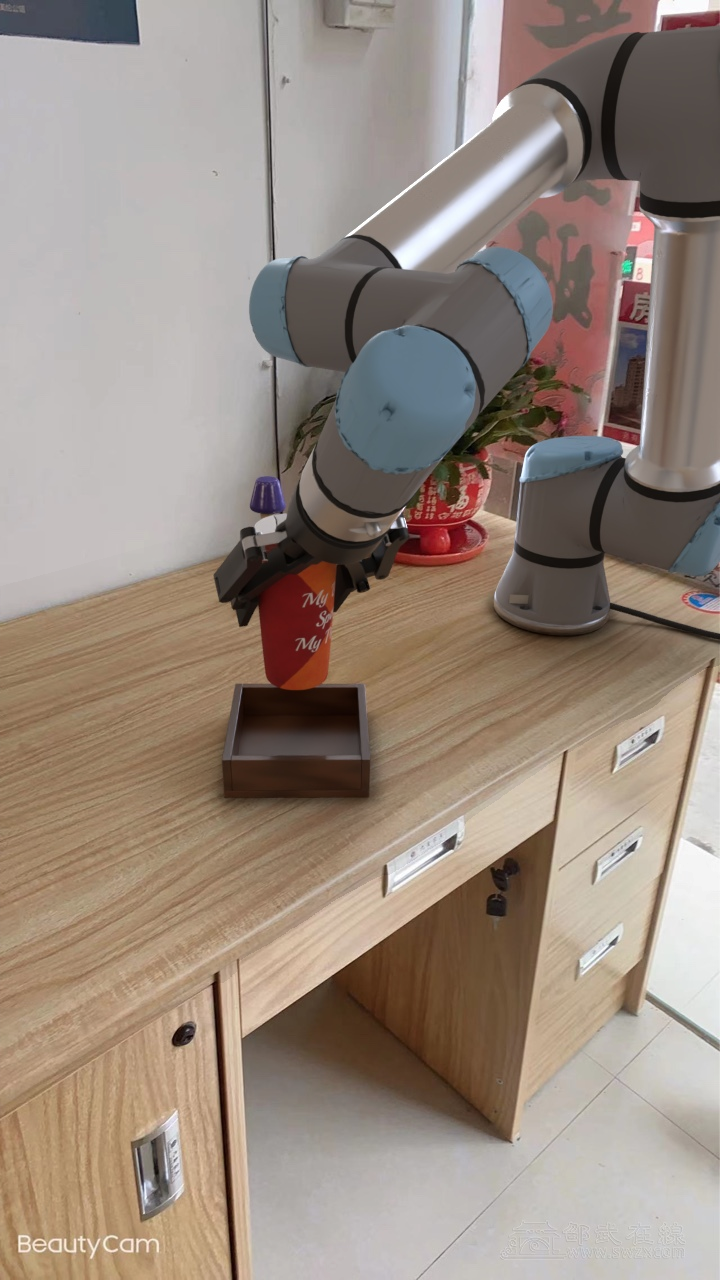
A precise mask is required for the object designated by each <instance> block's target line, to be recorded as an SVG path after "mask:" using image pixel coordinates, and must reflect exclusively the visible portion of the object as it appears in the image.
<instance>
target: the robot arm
mask: <svg viewBox="0 0 720 1280" xmlns="http://www.w3.org/2000/svg"><path fill="white" fill-rule="evenodd" d="M595 180H617V181H633V182H639V201H638V202H639V203H638V204H639V205H638V208H639V211H640V212H641V214H643V215H644V216H645V217H646V218H647V219H648V220H649V222H651V223H652V224H653V227H654V228H653V242H652V243H653V244H652V257H651V271H650V285H649V286H650V287H649V300H648V301H649V303H648V304H649V305H648V315H647V316H648V317H647V318H648V319H647V330H646V331H647V332H646V344H645V345H646V346H645V348H646V349H645V360H644V362H645V363H644V373H643V375H644V376H643V390H642V391H643V392H642V406H641V421H640V433H639V444H638V445H637V446H635V447H634V448H633V449H631V451H629V452H628V454H627V455H626V457H624V456H623V454H624V448H623V445H622V443H621V442H620V441H619V440H618V439H617V440H615V439H614V438H611V437H606V436H600V435H599V436H597V435H568V436H560V437H553V438H548V439H545V440H541V441H539V442H537V443H535V444H533V445H531V447H529V449H527V451H526V452H525V455H524V459H523V464H522V469H521V474H520V477H519V482H520V485H519V493H518V503H517V512H516V513H517V514H516V522H515V523H516V524H515V532H514V533H515V534H514V541H513V542H514V543H513V549H512V554H511V556H510V558H509V560H508V562H507V565H506V566H505V569H504V571H503V572H502V575H501V578H500V580H499V581H498V584H497V586H496V590H495V592H494V598H493V607H494V610H495V612H496V614H497V615H498V616H499V617H500V618H502V620H504V621H506V622H508V623H509V624H511V625H513V626H514V627H518V628H520V629H522V630H526V631H528V632H532V633H538V634H542V635H548V636H549V635H550V636H577V635H579V636H580V635H585V634H589V633H592V632H596V631H597V630H599V629H601V628H602V627H604V626H605V625H606V624H607V622H608V621H609V619H610V618H609V617H610V611H611V610H612V611H616V612H618V613H619V612H620V613H622V614H626V615H629V616H633V617H637V618H639V619H643V620H646V621H649V622H653V623H656V624H658V625H662V626H665V627H669V628H673V629H676V630H680V631H683V632H687V633H690V634H693V635H697V636H701V637H705V638H709V639H714V640H717V641H720V633H719V632H715V631H712V630H711V631H710V630H706V629H702V628H698V627H695V626H691V625H688V624H684V623H680V622H677V621H673V620H670V619H667V618H663V617H660V616H657V615H654V614H651V613H648V612H644V611H641V610H637V609H634V608H631V607H628V606H623V605H619V604H617V603H613V602H611V598H610V593H609V592H610V591H609V587H608V581H607V576H606V575H607V574H606V570H605V566H604V564H605V563H604V560H605V554H606V555H611V556H614V557H617V558H621V559H626V560H629V561H633V562H637V563H640V564H643V565H647V566H651V567H653V568H658V569H662V570H666V571H667V572H668V573H670V574H673V573H677V574H681V575H685V576H690V577H694V578H699V577H705V576H706V575H708V574H710V573H711V572H712V571H713V570H714V569H715V568H716V567H717V566H718V565H719V562H720V25H711V26H710V25H709V26H700V27H691V28H689V27H688V28H679V29H668V30H667V29H666V30H659V31H658V30H657V31H656V30H655V31H649V32H647V31H646V32H640V31H634V32H633V31H632V32H623V33H619V34H615V35H610V36H606V37H604V38H602V39H599V40H596V41H594V42H591V43H589V44H586V45H584V46H582V47H580V48H578V49H575V50H574V51H572V52H570V53H568V54H566V55H564V56H562V57H561V58H559V59H557V60H555V61H553V62H552V63H550V64H548V65H547V66H545V67H544V68H542V69H541V70H539V71H537V72H536V73H535V74H533V75H531V76H530V77H528V78H527V79H526V80H524V81H523V82H521V83H520V84H519V85H518V86H516V87H515V88H514V89H512V90H511V91H510V92H509V93H507V94H506V95H505V96H504V97H503V98H502V99H501V100H500V102H499V103H498V105H496V108H495V110H494V113H493V115H492V118H491V121H490V123H488V124H487V125H486V126H484V127H483V128H482V129H480V131H477V133H475V134H474V135H473V136H472V137H470V138H469V139H468V140H467V141H466V142H464V143H463V144H462V145H460V146H459V147H458V148H457V149H455V150H454V151H453V152H452V153H450V154H449V155H448V156H446V157H445V158H443V160H441V161H440V162H438V164H436V165H435V166H433V168H431V169H429V171H427V172H426V173H425V174H423V175H422V176H421V177H419V178H418V179H417V180H416V181H414V182H413V183H412V184H410V185H409V186H408V187H407V188H406V189H404V190H403V191H402V192H401V193H399V194H398V195H396V196H395V197H394V198H393V199H392V200H390V201H389V202H388V203H386V204H385V205H384V206H383V207H381V208H380V209H379V210H378V211H376V212H375V213H374V214H373V215H371V216H370V217H369V218H367V219H366V220H365V221H364V222H362V223H361V224H360V225H358V226H357V227H356V228H354V229H353V230H351V232H349V233H348V234H347V235H346V236H345V237H343V238H341V239H340V240H339V241H338V242H336V243H335V244H334V245H332V246H331V247H329V248H328V249H326V250H325V251H324V252H323V253H321V254H320V255H319V256H317V257H313V258H308V257H306V256H302V255H297V256H293V257H279V258H276V259H273V260H271V261H270V262H268V263H267V264H266V265H264V267H263V268H262V269H261V270H260V272H259V273H258V275H257V276H256V278H255V280H254V282H253V284H252V287H251V291H250V295H249V301H248V302H249V303H248V314H249V321H250V324H251V328H252V332H253V334H254V337H255V339H256V341H257V343H258V344H259V346H260V347H261V348H262V349H263V350H264V351H265V352H266V353H267V354H269V355H270V356H272V357H275V358H277V359H281V360H285V361H289V362H292V363H294V364H295V363H296V364H298V365H300V366H303V367H305V368H318V369H323V370H328V371H329V370H330V371H335V372H339V373H341V372H342V373H344V374H343V376H342V377H341V379H340V387H339V388H338V389H337V392H336V397H335V401H334V402H333V405H332V407H331V409H330V412H329V414H328V416H327V418H326V420H325V423H324V426H323V428H322V430H321V433H320V435H319V437H318V439H317V441H316V443H315V445H314V447H313V449H312V451H311V453H310V455H309V456H308V458H307V459H308V460H307V461H306V463H305V465H304V467H303V469H302V472H301V475H300V478H299V480H298V482H297V485H296V487H295V488H294V491H293V493H292V495H291V497H290V500H289V503H288V506H287V517H286V520H284V521H283V522H282V523H280V524H279V525H278V526H277V527H276V529H275V532H272V533H267V534H262V533H261V532H256V529H255V527H254V526H246V527H244V528H241V529H240V531H239V541H238V542H237V543H236V545H235V546H234V547H233V549H232V550H231V551H230V553H229V554H228V555H227V556H226V558H225V559H224V561H223V562H221V564H220V565H219V567H218V568H217V569H216V570H215V572H214V573H213V574H212V575H213V580H214V584H215V589H216V593H217V598H218V602H219V603H220V604H227V603H229V602H230V606H231V609H232V611H235V615H236V617H237V623H238V627H239V628H243V627H247V626H248V625H249V623H250V622H251V619H252V617H253V615H254V613H255V612H256V609H257V607H258V603H259V599H258V595H259V594H260V593H262V592H263V591H265V590H266V589H268V588H269V587H270V586H272V585H273V584H275V583H276V582H278V581H279V580H281V579H282V578H284V577H285V576H286V575H288V574H295V575H297V574H299V573H300V572H302V571H303V570H305V569H306V568H308V567H309V566H311V565H312V564H313V565H317V564H319V563H320V562H322V561H324V562H327V563H331V564H337V567H336V580H335V594H334V608H333V613H337V612H338V611H339V610H340V608H341V606H342V605H343V604H344V602H345V601H346V600H347V598H348V597H349V595H350V594H351V593H353V592H355V591H356V592H357V593H358V594H363V593H366V592H368V591H370V590H371V585H370V583H369V580H368V578H372V577H375V580H377V581H379V580H381V581H383V580H386V579H387V578H388V577H389V575H390V573H391V570H392V567H393V565H394V563H395V560H396V557H397V555H398V553H399V550H400V548H401V547H402V545H404V544H405V543H406V542H407V541H408V540H409V539H410V532H409V530H408V526H407V522H406V519H405V515H404V512H403V511H404V509H405V508H406V507H407V505H408V504H409V503H410V502H411V501H412V499H413V498H414V496H415V494H416V493H417V491H418V490H419V489H420V488H421V487H422V485H423V484H424V482H426V480H427V479H428V477H430V475H431V474H432V473H433V471H434V470H435V469H436V467H437V466H438V465H439V464H440V462H441V461H442V460H443V459H444V457H445V456H446V455H447V454H448V453H449V452H450V450H451V449H452V448H453V447H454V446H455V445H456V443H457V442H458V441H459V440H460V439H461V437H462V436H463V435H464V434H465V433H466V432H467V430H468V429H470V427H471V425H472V424H474V422H475V421H476V420H477V418H478V416H479V415H480V414H481V413H482V412H483V411H484V410H485V409H486V407H487V406H488V405H489V404H490V403H491V402H492V400H493V399H494V398H495V397H496V396H497V395H498V393H500V392H501V390H502V389H503V388H504V387H505V386H506V385H507V384H508V382H509V381H511V379H512V378H513V377H514V375H515V374H516V373H518V371H519V370H521V369H523V367H525V365H526V364H527V362H529V359H530V357H531V354H532V352H534V350H535V348H536V347H537V346H538V344H539V343H540V342H541V341H542V339H543V338H544V336H545V335H546V333H547V332H548V331H549V328H550V325H551V322H552V319H553V313H554V301H553V298H552V291H551V288H550V285H549V283H548V281H547V279H546V278H545V275H544V274H543V272H542V271H541V270H540V269H539V268H538V266H537V265H536V264H535V263H534V262H533V261H532V259H530V258H528V257H527V256H526V255H524V254H523V253H520V252H519V251H517V250H514V249H513V248H512V249H511V248H509V247H502V246H490V247H487V248H484V247H485V246H486V245H488V243H489V242H491V241H492V240H493V239H495V237H497V235H498V234H499V233H501V232H502V231H503V230H504V229H505V228H506V227H508V226H509V225H510V224H511V223H512V222H513V221H514V220H516V218H518V216H520V215H521V214H523V212H524V211H526V209H527V208H529V207H530V206H531V205H532V204H533V203H534V202H535V201H537V200H538V199H545V198H546V199H547V198H550V197H554V196H556V195H559V194H560V193H562V192H563V191H565V190H567V189H568V188H569V187H570V186H571V185H572V184H574V183H578V182H584V181H595ZM482 248H484V249H483V250H481V249H482Z"/></svg>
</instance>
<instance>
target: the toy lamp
mask: <svg viewBox="0 0 720 1280" xmlns="http://www.w3.org/2000/svg"><path fill="white" fill-rule="evenodd" d="M286 506H287V505H286V501H285V497H284V493H283V490H282V485H281V482H280V480H279V479H278V478H277V477H276V476H271V475H266V476H259V477H257V478H256V480H255V482H254V486H253V489H252V494H251V498H250V502H249V508H250V510H251V511H252V512H254V513H256V514H260V515H259V517H260V520H261V519H263V518H265V517H268V516H272V515H273V516H274V515H276V514H281V513H282V512H284V511H285V510H286Z"/></svg>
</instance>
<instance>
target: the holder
mask: <svg viewBox="0 0 720 1280" xmlns="http://www.w3.org/2000/svg"><path fill="white" fill-rule="evenodd" d="M366 694H367V693H366V684H365V683H322V684H320V685H318V686H316V687H313V688H310V689H305V690H287V689H282V688H279V687H276V686H274V685H273V684H271V683H235V684H234V690H233V694H232V695H233V696H232V701H231V706H230V712H229V718H228V723H227V727H226V728H227V730H226V734H225V741H224V745H223V752H222V758H221V766H222V768H221V769H222V771H221V772H222V783H223V784H222V785H223V786H222V787H223V797H224V798H369V797H370V783H371V781H370V780H371V751H370V738H369V737H370V735H369V723H368V721H369V720H368V710H367V709H368V708H367V695H366Z"/></svg>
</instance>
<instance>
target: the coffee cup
mask: <svg viewBox="0 0 720 1280" xmlns="http://www.w3.org/2000/svg"><path fill="white" fill-rule="evenodd" d="M286 517H287V513H276V514H274V516H273V515H272V516H268V517H265V518H263V519H261V518H260V519H259V520H258V521H256V523H255V524H254V526H253V527H255V529H256V532H261V533H262V534H267V533H272V532H275V529H276V527H277V526H278V525H279V524H280V523H282V522H283V521H284V520H286ZM336 567H337V564H331V563H327V562H324V561H322V562H320V563H319V564H317V565H313V564H312V565H311V566H309V567H308V568H306V569H305V570H303V571H302V572H300V573H299V574H297V575H295V574H288V575H286V576H285V577H284V578H282V579H281V580H279V581H278V582H276V583H275V584H273V585H272V586H270V587H269V588H268V589H266V590H265V591H263V592H262V593H260V594H259V595H258V599H259V603H258V605H257V607H258V617H259V626H260V637H261V649H262V657H263V665H264V673H265V677H266V678H265V679H266V680H267V681H268V682H269V684H273V685H274V686H276V687H279V688H282V689H287V690H305V689H310V688H313V687H316V686H318V685H320V684H324V682H325V681H326V680H327V678H328V675H329V666H330V657H331V647H332V645H331V644H332V633H333V621H334V619H333V618H334V612H333V608H334V594H335V580H336Z"/></svg>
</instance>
